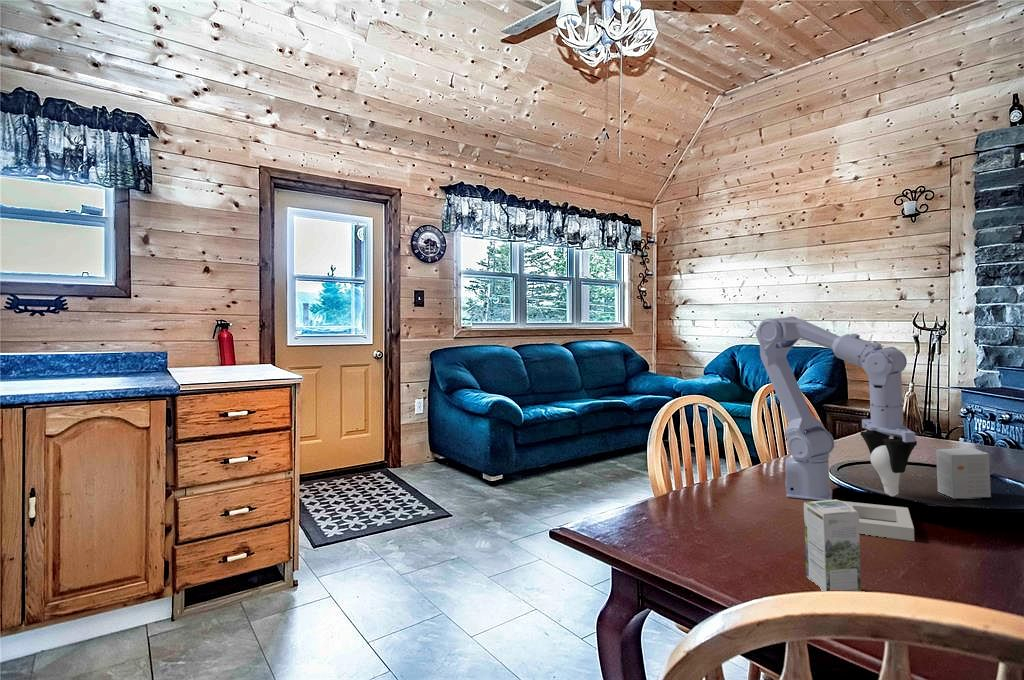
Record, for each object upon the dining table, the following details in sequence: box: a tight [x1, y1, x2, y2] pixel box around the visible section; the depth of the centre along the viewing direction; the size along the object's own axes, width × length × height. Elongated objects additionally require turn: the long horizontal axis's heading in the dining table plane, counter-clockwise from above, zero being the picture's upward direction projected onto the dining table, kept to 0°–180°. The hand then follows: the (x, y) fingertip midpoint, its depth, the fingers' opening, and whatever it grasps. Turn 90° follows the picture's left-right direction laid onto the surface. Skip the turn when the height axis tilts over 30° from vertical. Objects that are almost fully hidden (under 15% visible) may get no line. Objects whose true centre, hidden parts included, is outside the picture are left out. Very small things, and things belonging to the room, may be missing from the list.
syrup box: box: [803, 499, 862, 592], centre depth 89 cm, size 6×6×14 cm
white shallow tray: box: [841, 500, 915, 542], centre depth 113 cm, size 12×12×2 cm
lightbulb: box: [869, 445, 901, 497], centre depth 118 cm, size 6×6×11 cm
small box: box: [935, 447, 992, 498], centre depth 126 cm, size 8×6×10 cm
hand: (888, 468), depth 118 cm, fingers closed on lightbulb, 6 cm apart
